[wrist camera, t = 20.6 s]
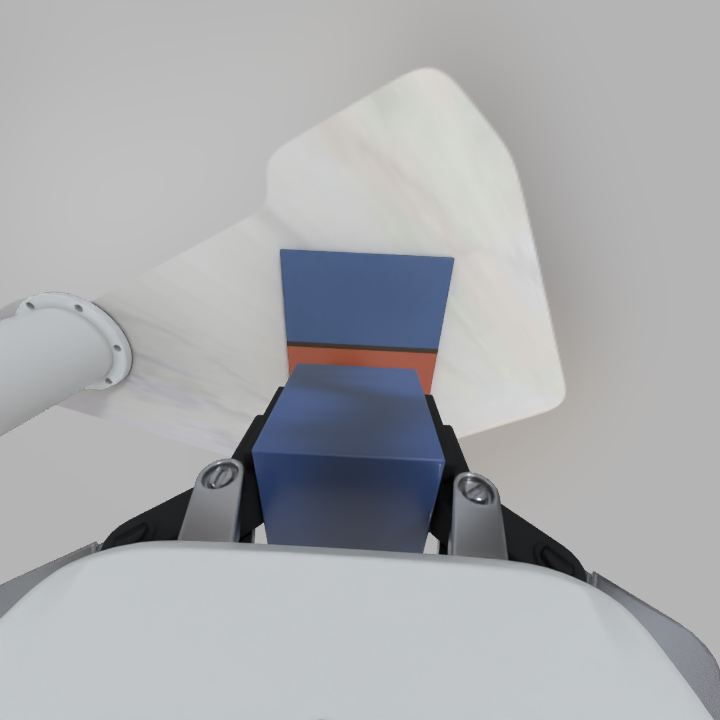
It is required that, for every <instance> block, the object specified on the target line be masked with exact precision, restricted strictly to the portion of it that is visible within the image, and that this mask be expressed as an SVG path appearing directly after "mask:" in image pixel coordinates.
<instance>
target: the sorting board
mask: <svg viewBox="0 0 720 720" xmlns="http://www.w3.org/2000/svg"><path fill="white" fill-rule="evenodd" d="M280 255H281V268H282V280H283V293H284V306H285V319H286V332H287V346H288V359H289V372H290V376H291V374H292V372H293V370H294V368H295V366H296V364H297V363H307V364H326V365H345V366H364V367H383V368H402V369H416V370H417V373H418V376H419V379H420V382H421V386H422V389H423V392H424V394H427V395H430V390H431V384H432V379H433V373H434V368H435V362H436V357H437V352H438V346H439V340H440V335H441V329H442V324H443V318H444V313H445V307H446V302H447V297H448V291H449V286H450V280H451V275H452V269H453V264H454V258H448V257H428V256H408V255H388V254H368V253H348V252H327V251H307V250H287V249H281V250H280Z"/></svg>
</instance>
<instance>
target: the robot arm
mask: <svg viewBox="0 0 720 720" xmlns="http://www.w3.org/2000/svg"><path fill="white" fill-rule="evenodd" d="M131 364H132V354H131V349H130V346H129V343H128V341H127V339H126V337H125V335H124V333H123V332H122V331H121V329H120V328H119V326H118V325H117V324H116V323H115V322H114V321H113V320H112V319H111V317H110V316H108V315H107V314H106V313H105V312H104V311H102V310H101V309H100V308H98V307H97V306H95V305H94V304H92V303H90V302H89V301H86V300H84V299H82V298H80V297H78V296H74V295H71V294H68V293H61V292H46V293H42V294H37V295H33V296H31V297H29V298H27V299H25V300H24V301H23V302H22V303H21V304H20V305H19V307H18V309H17V311H16V316H13V317H9V318H5V319H2V320H0V436H2V435H4V434H6V433H7V432H9V431H11V430H12V429H14V428H16V427H18V426H19V425H21V424H22V423H24V422H26V421H28V420H30V419H31V418H33V417H35V416H36V415H38V414H40V413H42V412H43V411H45V410H47V409H49V408H50V407H52V406H54V405H56V404H57V403H59V402H61V401H62V400H64V399H66V398H68V397H69V396H71V395H73V394H74V393H76V392H78V391H80V390H81V389H90V390H101V389H106V388H110V387H112V386H114V385H116V384H117V383H119V382H120V381H122V380H123V379H124V378H125V377H126V376H127V375H128V373H129V371H130V369H131ZM283 389H284V387H279V388H278V390H277V391H276V393H275V395H274V397H273V399H272V400H271V402H270V404H269V406H268V408H267V409H266V411H265V413H264V415H257V416H256V417H255V419H254V420H253V422H252V424H251V425H250V427H249V429H248V430H247V432H246V434H245V436H244V437H243V439H242V441H241V442H240V444H239V446H238V447H237V449H236V451H235V452H234V454H233V456H232V458H231V459H221V460H217V461H215V462H213V463H211V464H209V465H208V466H207V467H205V468H204V469H203V470H202V471H201V472H200V473H199V475H198V477H197V479H196V483H195V486H194V487H193V488H191V489H189V490H187V491H185V492H184V493H181V494H179V495H177V496H175V497H174V498H172V499H170V500H168V501H166V502H164V503H162V504H160V505H158V506H156V507H154V508H152V509H150V510H148V511H146V512H144V513H142V514H140V515H138V516H136V517H134V518H132V519H130V520H129V521H127V522H125V523H124V524H122V525H120V526H119V527H118V528H117V529H115V530H114V531H113V532H112V533H111V534H110V536H108V538H107V539H106V540H105V542H103V543H101V544H99V545H98V543H97V542H94V543H91V544H89V545H87V546H85V547H83V548H80V549H78V550H76V551H74V552H72V553H69V554H67V555H65V556H63V557H60V558H58V559H56V560H54V561H52V562H49V563H47V564H45V565H43V566H41V567H38V568H36V569H34V570H32V571H30V572H27V573H25V574H23V575H21V576H18V577H17V578H14V579H12V580H10V581H7V582H6V583H4V584H2V585H0V720H720V669H719V666H718V664H717V662H716V660H715V658H714V657H713V655H712V654H711V652H710V651H709V650H708V648H707V647H706V646H705V645H704V644H703V643H702V642H701V641H700V640H699V639H698V638H697V637H696V636H695V635H694V634H693V633H692V632H690V631H689V630H688V629H687V628H685V627H684V626H682V625H681V624H680V623H678V622H676V621H675V620H673V619H672V618H670V617H668V616H667V615H665V614H663V613H662V612H660V611H658V610H657V609H655V608H653V607H652V606H650V605H648V604H647V603H645V602H644V601H642V600H640V599H638V598H637V597H635V596H634V595H632V594H630V593H629V592H627V591H626V590H624V589H622V588H620V587H619V586H617V585H616V584H614V583H612V582H611V581H609V580H607V579H606V578H604V577H602V576H601V575H599V574H598V573H596V572H593V573H592V574H590V573H588V572H587V571H585V570H584V568H583V567H582V565H581V564H580V562H579V560H578V559H577V558H576V557H575V556H574V555H573V554H572V553H571V552H570V551H569V550H568V549H566V548H565V547H564V546H563V545H561V544H560V543H558V542H557V541H555V540H554V539H552V538H551V537H549V536H548V535H546V534H545V533H543V532H542V531H540V530H539V529H538V528H536V527H535V526H533V525H532V524H530V523H529V522H527V521H526V520H524V519H523V518H521V517H520V516H518V515H517V514H515V513H514V512H512V511H511V510H509V509H508V508H506V507H505V506H503V505H502V504H501V502H500V496H499V493H498V490H497V488H496V487H495V486H494V484H493V483H492V482H491V481H489V480H488V479H487V478H485V477H484V476H482V475H479V474H477V473H472V472H470V471H469V469H468V466H467V463H466V461H465V459H464V456H463V453H462V451H461V448H460V446H459V443H458V441H457V438H456V436H455V433H454V431H453V428H452V427H451V426H450V425H443V423H442V421H441V418H440V415H439V412H438V409H437V407H436V404H435V401H434V398H433V396H432V395H427V394H424V395H425V398H426V401H427V405H428V408H429V411H430V414H431V417H432V420H433V423H434V427H435V430H436V433H437V436H438V439H439V442H440V446H441V449H442V452H443V455H444V458H445V465H444V469H443V473H442V477H441V481H440V485H439V489H438V494H437V498H436V502H435V506H434V510H433V514H432V518H431V522H430V527H429V531H428V532H431V534H432V535H434V536H435V537H436V538H437V539H438V546H437V554H423V553H407V552H392V551H376V550H360V549H343V548H326V547H309V546H291V545H273V544H254V541H255V528H256V527H258V526H259V525H261V524H262V523H264V519H263V513H262V508H261V502H260V496H259V490H258V484H257V478H256V473H255V467H254V461H253V455H252V449H253V447H254V445H255V443H256V441H257V439H258V437H259V435H260V433H261V431H262V429H263V427H264V425H265V424H266V422H267V420H268V418H269V416H270V414H271V412H272V410H273V408H274V406H275V404H276V402H277V400H278V399H279V397H280V395H281V393H282V391H283Z"/></svg>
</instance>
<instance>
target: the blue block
mask: <svg viewBox="0 0 720 720" xmlns="http://www.w3.org/2000/svg"><path fill="white" fill-rule="evenodd" d="M252 455H253V461H254V467H255V473H256V478H257V484H258V490H259V496H260V502H261V508H262V513H263V519H264V525H265V531H266V537H267V542H268V544H273V545H291V546H309V547H326V548H343V549H360V550H376V551H392V552H407V553H423V551H424V547H425V543H426V539H427V535H428V531H429V527H430V522H431V518H432V514H433V510H434V506H435V502H436V498H437V494H438V489H439V485H440V481H441V477H442V473H443V469H444V465H445V458H444V455H443V452H442V449H441V446H440V442H439V439H438V436H437V433H436V430H435V427H434V423H433V420H432V417H431V414H430V411H429V408H428V405H427V401H426V398H425V395H424V392H423V389H422V386H421V382H420V379H419V376H418V373H417V370H416V369H402V368H383V367H364V366H345V365H326V364H307V363H297V364H296V366H295V368H294V370H293V372H292V374H291V376H290V377H289V379H288V381H287V383H286V385H285V387H284V389H283V391H282V393H281V395H280V397H279V399H278V400H277V402H276V404H275V406H274V408H273V410H272V412H271V414H270V416H269V418H268V420H267V422H266V424H265V425H264V427H263V429H262V431H261V433H260V435H259V437H258V439H257V441H256V443H255V445H254V447H253V449H252Z"/></svg>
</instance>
